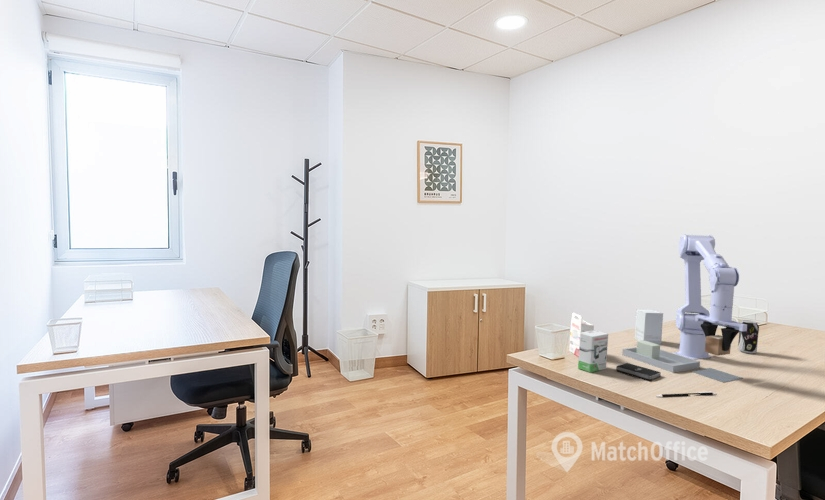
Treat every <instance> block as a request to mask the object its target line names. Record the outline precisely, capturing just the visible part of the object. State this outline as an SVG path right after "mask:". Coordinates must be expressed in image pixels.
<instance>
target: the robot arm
mask: <svg viewBox="0 0 825 500" xmlns="http://www.w3.org/2000/svg"><path fill="white" fill-rule="evenodd" d="M715 247H716V239H715V238H714V236H713V235H712V234H710V235H699V234H698V235H697V234H695V235H694V234H682V235H681V237H680V239H679V241H678V253H679V254H678V255H679V258H681V259H682V260H683V264H684V287H685V288H684V291H685V298H684V299H685V304H683V305H682V306H681V307H679V308H678V309H677V311H676V316H675V325H676V328H677V329H678V330H679V331H680V334H679V336H680V337H679V349H678V351H674V352H673V354H677V355H680V356H683V357H686V358H690V359H693V360H696V361H697V360H701V359H708V358H710V359H711V358H712V356H711V355H709V354H710V353H707V352H705V342H706V336H714V335H716V333H717V329H718V327H722V328H720V331H721V336H722V338H723V342H722V350H723V351H729V348H730V345H731V346H732V344H733V343H732V342H733V341H734V339H735V338H736V336H737V335H739V331H747V325H746V324H742V322H738V321H735V320H733V319H732V317H733V305H734V294H735V287H737V286H738V284H739V281H740V274H739V271H738V269H737V268H736V267H732V266H729V264H728V263H727V261H726V260H725V258H724V257H723V255H721V254H719V253H717V252H716V250H715ZM702 261H703V265H704V267H705V269H706V270H707V272H708V274H709V275H708V281H709V289H710V291H711V293H710V304H709V310H708V309H707V308H706V307H704V306H703V305H702V289H701V288H702V286H701V283H702V282H701V262H702Z"/></svg>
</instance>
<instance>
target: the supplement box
mask: <svg viewBox="0 0 825 500" xmlns="http://www.w3.org/2000/svg"><path fill="white" fill-rule="evenodd" d="M635 313H636V314H635V326H634V339H635V340H636V341H637V342H638V341H648V342H651V343H655V344H658V345H662V338H663V337H662V335H663V322H664V313H663V312H661V311H658V310H655V309H641V308H640V309H636V312H635Z"/></svg>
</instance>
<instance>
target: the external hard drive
mask: <svg viewBox="0 0 825 500" xmlns="http://www.w3.org/2000/svg"><path fill="white" fill-rule="evenodd" d="M615 371H616V372H618V373H621V374H624V375H627V376H630V377H634V378H635V379H640V380H643V381H647V382H652V381H653V380H656V379H657V378H661V372H660V371H658V370H654V369H651V368H648V367H645V366H640V365H637V364H633V363H629V362H624V363H622V364H619V365H616V370H615Z"/></svg>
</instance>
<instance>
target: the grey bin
mask: <svg viewBox="0 0 825 500" xmlns="http://www.w3.org/2000/svg"><path fill="white" fill-rule="evenodd" d="M621 353H622V354H621V355H622V356H624V357H626V358H630V359H632V360H636V361H638V362H641V363H644V364H647V365H649V366H653V367H656V368H659V369H661V370H665V371H667V372H670V373H678V372H686V371H692V370H698V369H700V367H701V361H698V360H697V359H696V360H694V359H690V358H687V357H684V356H681V355H677V354H674V352H670V351H666V350H663V349H660V357H659V359H657V360H656V359H653V358H650V357H647V356H644V355H641V354H638V353H637V346H636V347H630V348H629V347H628V348H622V351H621Z"/></svg>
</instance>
